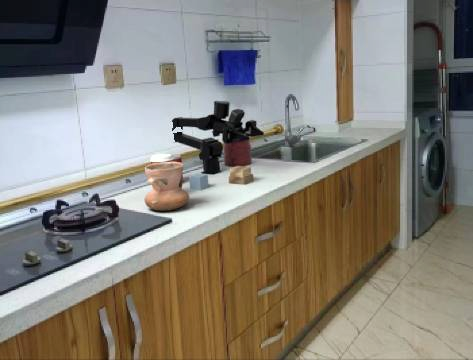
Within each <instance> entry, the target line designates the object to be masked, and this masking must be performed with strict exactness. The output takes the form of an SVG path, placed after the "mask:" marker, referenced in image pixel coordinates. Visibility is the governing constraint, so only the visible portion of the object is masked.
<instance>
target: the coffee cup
mask: <svg viewBox="0 0 473 360" xmlns="http://www.w3.org/2000/svg"><path fill="white" fill-rule="evenodd" d="M172 155H173V154H171V153H159V154H153V155H150V160H149V162H150V164H155V163H163V162H173V159H174V158H173V157H172Z"/></svg>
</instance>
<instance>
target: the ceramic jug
mask: <svg viewBox="0 0 473 360" xmlns="http://www.w3.org/2000/svg"><path fill="white" fill-rule="evenodd" d="M144 172H145V174H146V175H145V176H146V177H147V179H148V180H147V181H146V184H148V185H150V186H151V187H152V189H151V191H149V192H148V193H146V195H145V197H144V203H145V205H146V207H148V208H149V209H152V210H154V211H161V212H166V211H172V210H177V209H179V208H182V207H184V206H185V205H186V204H188V202H189V200H190V195H189V193H188V192H187V191H186V190H185V189H183V182H184V173H183V172H184V164H183V162H182V163H179V162H163V163H155V164H151V163H150V164H148V165H146V166H145V167H144Z"/></svg>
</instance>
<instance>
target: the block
mask: <svg viewBox="0 0 473 360" xmlns="http://www.w3.org/2000/svg"><path fill="white" fill-rule="evenodd" d="M188 182H189V190H195V191H202V190H205V189H208V188H209V174H205V173H196V174H193V175H189V176H188Z"/></svg>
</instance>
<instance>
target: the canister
mask: <svg viewBox="0 0 473 360" xmlns="http://www.w3.org/2000/svg"><path fill="white" fill-rule="evenodd" d="M244 135H246V134H244ZM251 139H252V137H250V136H249V140H245V141H240V142H235V143H229V144H226V143H224V142H223V145H222V146H223V163H224V166H227V167H237V166H248V165H251V164H252V162H253V161H252V160H253V159H252V157H253V156H252V144H251V141H250V140H251Z"/></svg>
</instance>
